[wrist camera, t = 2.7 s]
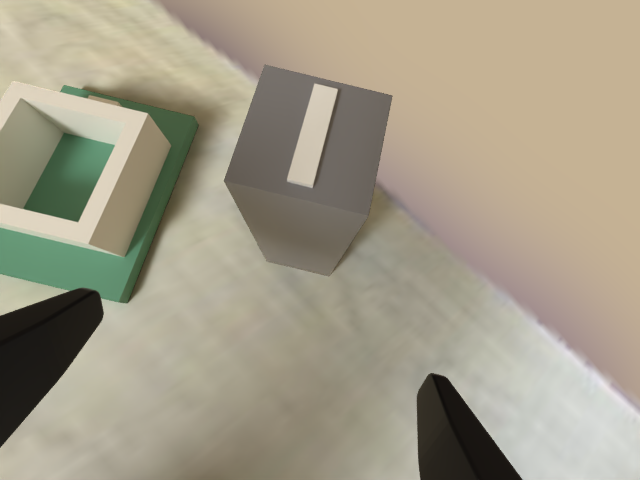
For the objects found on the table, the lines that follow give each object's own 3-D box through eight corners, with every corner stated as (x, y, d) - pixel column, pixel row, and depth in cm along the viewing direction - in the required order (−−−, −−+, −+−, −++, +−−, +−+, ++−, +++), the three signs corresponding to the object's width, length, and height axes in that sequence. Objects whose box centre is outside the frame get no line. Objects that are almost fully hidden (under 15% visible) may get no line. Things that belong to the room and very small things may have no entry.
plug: (329, 276, 21) (370, 213, 9) (266, 261, 21) (222, 177, 9) (342, 217, 22) (394, 91, 10) (283, 203, 22) (263, 59, 10)
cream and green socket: (127, 303, 20) (79, 297, 15) (-22, 267, 20) (-112, 251, 15) (198, 125, 24) (175, 80, 19) (73, 94, 24) (22, 43, 19)
